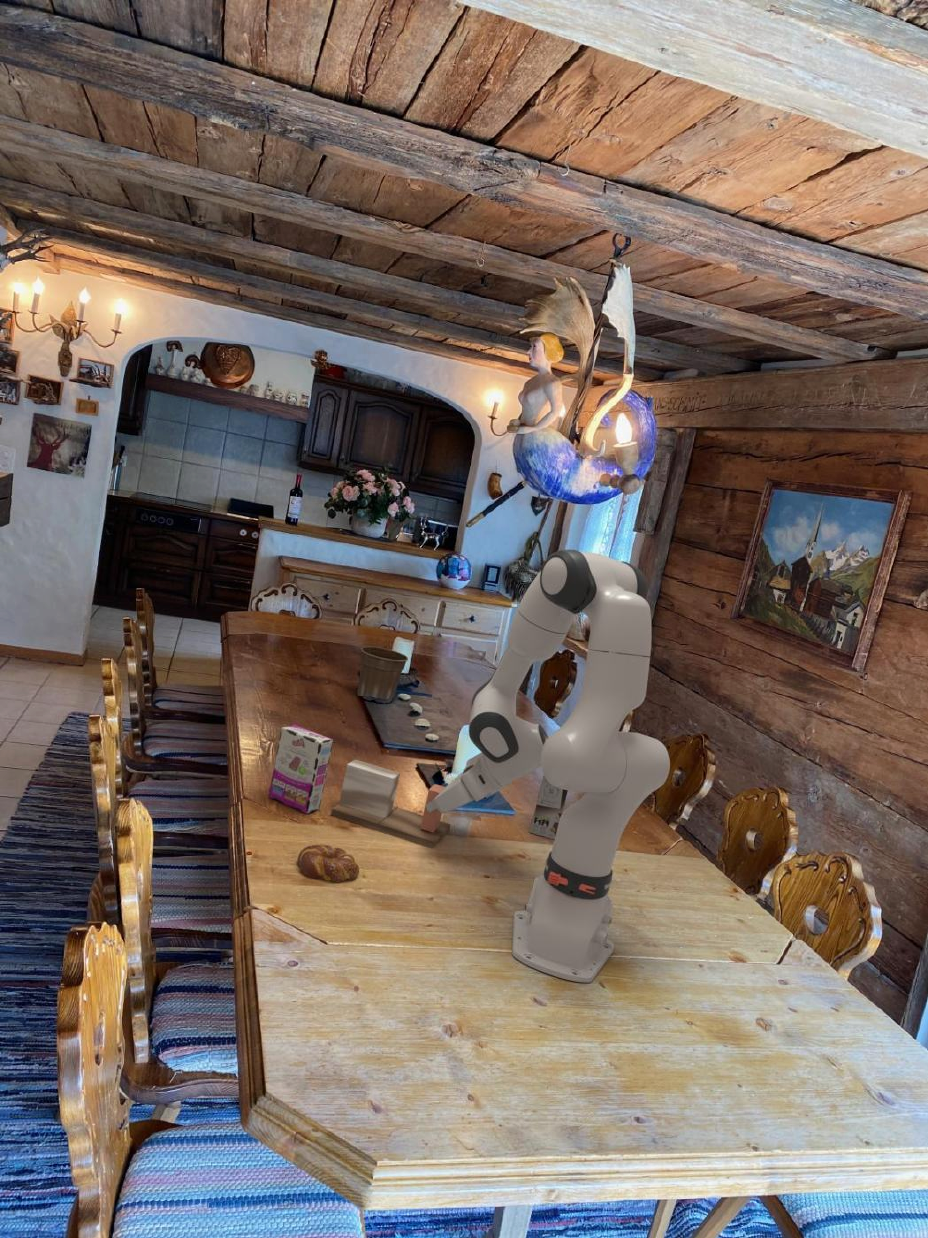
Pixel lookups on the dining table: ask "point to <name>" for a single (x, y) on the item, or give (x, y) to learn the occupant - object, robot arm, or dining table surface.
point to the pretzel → (327, 863)
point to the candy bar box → (300, 768)
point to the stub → (432, 818)
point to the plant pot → (380, 672)
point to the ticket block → (381, 805)
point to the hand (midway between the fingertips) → (432, 804)
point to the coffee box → (548, 810)
